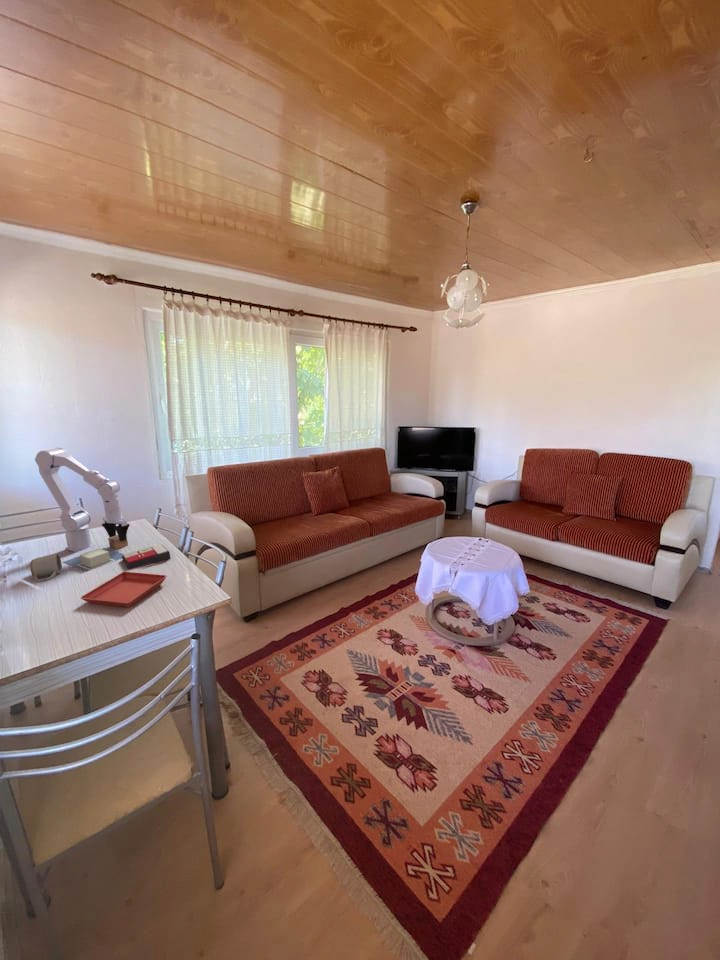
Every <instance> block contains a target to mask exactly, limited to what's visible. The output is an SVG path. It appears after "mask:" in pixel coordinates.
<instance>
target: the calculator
mask: <svg viewBox="0 0 720 960" xmlns="http://www.w3.org/2000/svg"><path fill="white" fill-rule="evenodd" d="M122 554H123V556H122V562H123V563H124V564H125V566H126V568H127V569H129V570H131V569H134V568H137V567H143V566H144V567H147V566H150V565H153V563H154V564H156V563H157V564H158V563H160V562H161V561H162V562H165V560H166V561H168V560H171V554H170V551H169V550H168V549H167V548H166V546H164V544H162V543H159V544H155V545H152V546H147V547H144V548H140V549H137V550H133V551H130V552H127V553H122ZM162 562H161V563H162ZM146 565H147V566H146Z"/></svg>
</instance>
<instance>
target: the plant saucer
mask: <svg viewBox="0 0 720 960" xmlns="http://www.w3.org/2000/svg"><path fill="white" fill-rule="evenodd" d="M166 578H167V575H165V574H155V573H154V574H153V573H145V572H144V573H143V572H133V571H122V572H120V573H119V574H117V575H115V576H113V577H112V578H111V579H109V580H106V581H105V582H104V583H102V584H101V585H99V586H97V587H96V588H93V589H92V590H90V591H89V592H86V593H84V594H83V595H82V596H81V597H80V599H81V600H82V601H85V602H87V603H90V604H93V603H94V605H101V606H103V605H104V606H112V607H121V608H130V607H132V606H133V605H135V604H137V602H139V601H140V600H141V599H143V598H145V597H146V596H148V595H149V594H150V593H152V592H153V591H155V590H156V589H158V587H160V586H161V585H162V584H163V583H164V581H165V579H166ZM151 591H152V592H151Z"/></svg>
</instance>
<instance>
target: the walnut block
mask: <svg viewBox="0 0 720 960" xmlns="http://www.w3.org/2000/svg"><path fill="white" fill-rule="evenodd" d="M107 540H108V544H109V549H110V548H111V549H113V550H119V549H121V548H125V547H127V546H129V542H128V536H127V535H126V540H125V541H122V542H121V541H120V540H119V537H118V534H116V536H113V537H108V539H107Z"/></svg>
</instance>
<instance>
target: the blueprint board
mask: <svg viewBox="0 0 720 960" xmlns="http://www.w3.org/2000/svg"><path fill="white" fill-rule="evenodd" d="M101 549H102V550H105V551H108V552H109V556H110V561H109V562H106V563H104V564H101V565H98V566H96V567H93V568H90V567H87V566H85V565H82V563H81V558H80V555H79V556H76V557H73V558H70V559H67V560H65V561H64V560H63V561H62V563H63V564H65V565H67V566H71V567H73V568H76V569H78V570H81V571H84V572H89V571H92V570H95V569H98V568H99V567H103V566H106V565H108V564H111V563H114V562H116V561H118V560H121V559H122V556H123V554H124V553H122V552H118V551H115V550H114V549H113V550H112V549H110V548H109V549H108V548H106V547H103V548H101ZM122 560H123V559H122Z"/></svg>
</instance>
